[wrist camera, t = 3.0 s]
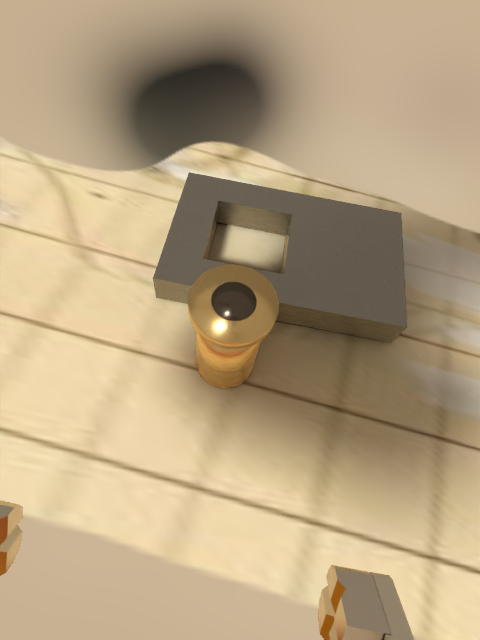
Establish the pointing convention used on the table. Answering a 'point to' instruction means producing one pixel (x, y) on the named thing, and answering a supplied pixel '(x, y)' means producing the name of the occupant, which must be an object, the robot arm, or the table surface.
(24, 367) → the table surface
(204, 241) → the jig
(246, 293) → the bushing
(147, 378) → the table surface
